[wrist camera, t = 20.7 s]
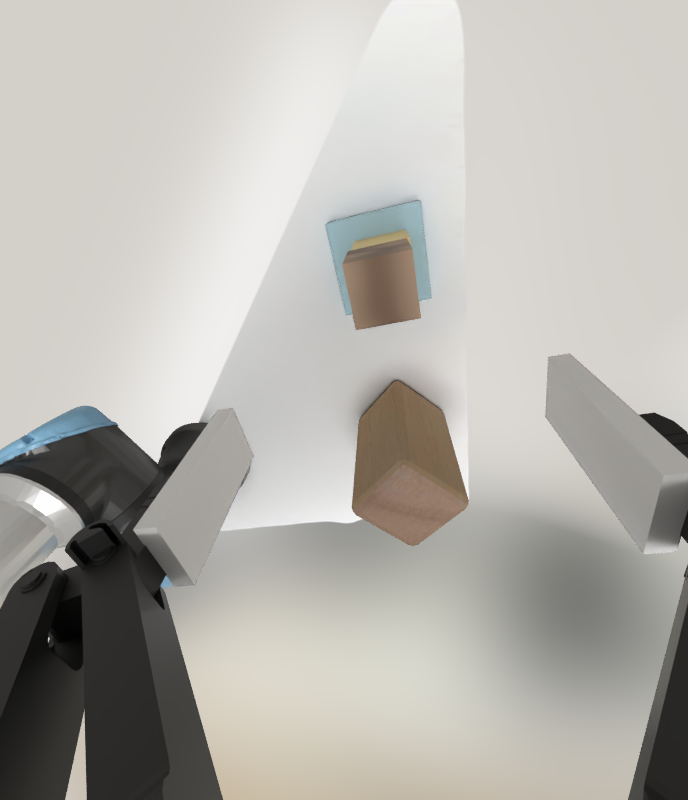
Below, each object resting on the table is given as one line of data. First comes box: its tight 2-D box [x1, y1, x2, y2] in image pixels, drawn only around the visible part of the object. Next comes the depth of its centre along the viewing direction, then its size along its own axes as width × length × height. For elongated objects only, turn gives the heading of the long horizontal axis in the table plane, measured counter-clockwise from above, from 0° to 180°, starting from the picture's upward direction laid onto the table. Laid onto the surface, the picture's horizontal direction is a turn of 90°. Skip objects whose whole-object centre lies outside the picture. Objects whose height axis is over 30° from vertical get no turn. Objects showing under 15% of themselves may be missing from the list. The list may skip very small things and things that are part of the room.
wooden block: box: [352, 381, 468, 546], centre depth 50 cm, size 10×10×20 cm
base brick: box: [326, 200, 431, 315], centre depth 46 cm, size 11×11×3 cm
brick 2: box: [342, 238, 421, 330], centre depth 36 cm, size 6×6×7 cm
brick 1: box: [351, 229, 411, 250], centre depth 42 cm, size 6×6×7 cm
